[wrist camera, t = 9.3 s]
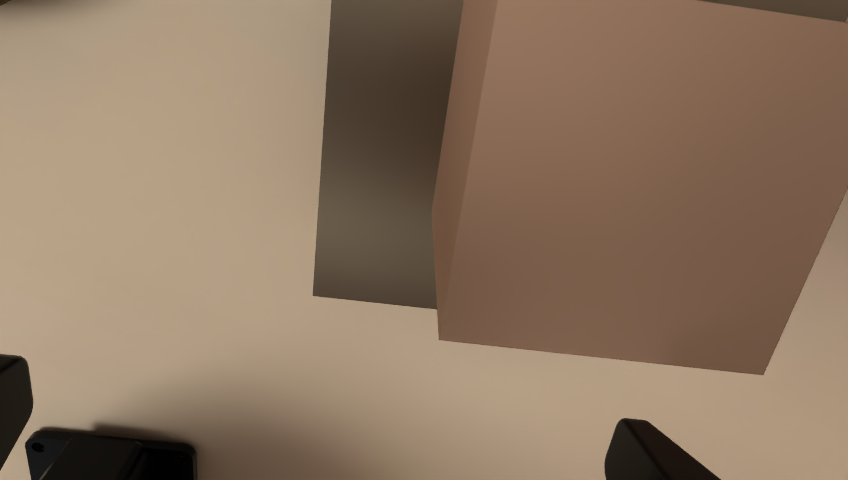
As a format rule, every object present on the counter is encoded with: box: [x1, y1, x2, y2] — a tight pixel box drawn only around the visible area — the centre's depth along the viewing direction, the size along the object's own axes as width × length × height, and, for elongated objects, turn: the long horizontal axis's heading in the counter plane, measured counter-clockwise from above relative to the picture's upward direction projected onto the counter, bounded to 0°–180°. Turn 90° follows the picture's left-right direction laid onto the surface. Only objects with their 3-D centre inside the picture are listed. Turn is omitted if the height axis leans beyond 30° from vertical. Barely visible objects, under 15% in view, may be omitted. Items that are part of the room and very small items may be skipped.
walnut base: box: [313, 0, 848, 309], centre depth 17 cm, size 12×12×4 cm
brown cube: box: [432, 0, 848, 375], centre depth 12 cm, size 6×6×6 cm
